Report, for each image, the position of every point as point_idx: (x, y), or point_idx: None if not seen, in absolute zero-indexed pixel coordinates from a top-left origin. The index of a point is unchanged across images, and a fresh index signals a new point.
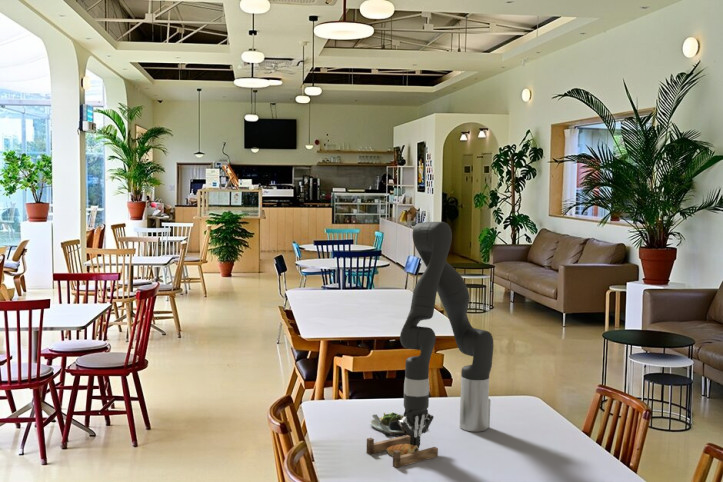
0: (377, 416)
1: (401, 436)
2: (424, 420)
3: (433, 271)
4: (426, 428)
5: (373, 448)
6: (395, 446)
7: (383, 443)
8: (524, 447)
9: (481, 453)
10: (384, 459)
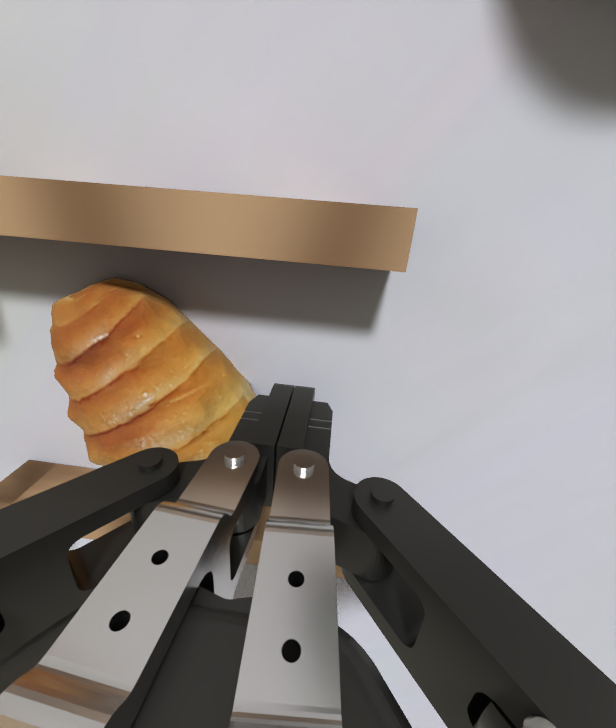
0: None
1: (312, 205)
2: (477, 679)
3: None
4: (400, 603)
5: None
6: (75, 391)
7: (23, 236)
8: None
9: (577, 634)
10: (22, 363)
